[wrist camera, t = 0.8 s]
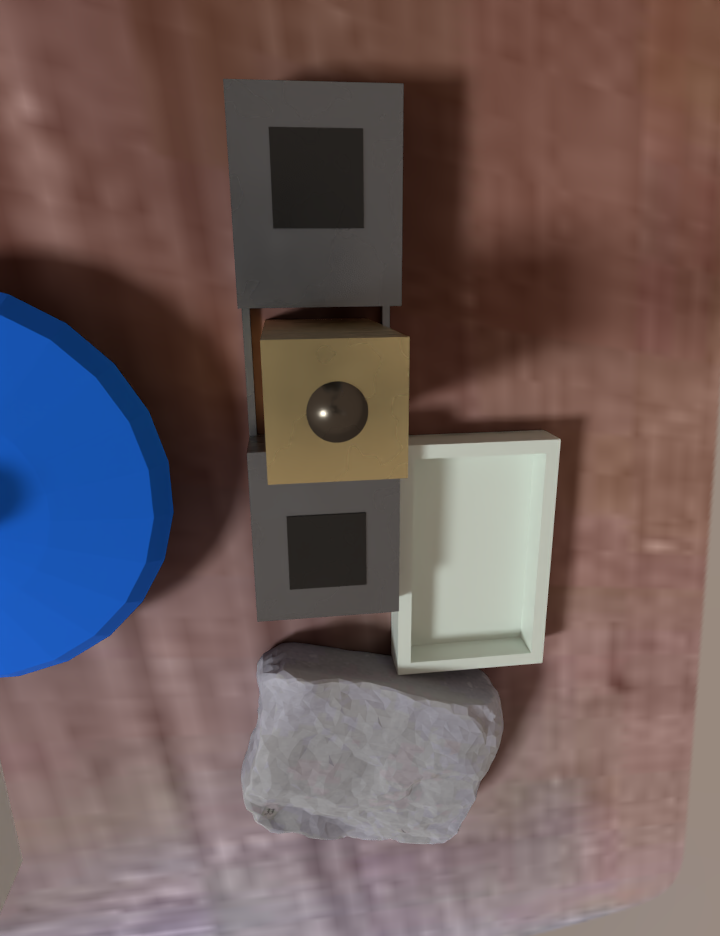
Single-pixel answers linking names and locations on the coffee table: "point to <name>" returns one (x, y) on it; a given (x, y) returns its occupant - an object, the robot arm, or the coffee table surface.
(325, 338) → the wooden drawer with knob
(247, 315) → the rack rail
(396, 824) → the stone block
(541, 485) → the parts tray
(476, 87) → the coffee table surface
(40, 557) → the blue funnel disc
